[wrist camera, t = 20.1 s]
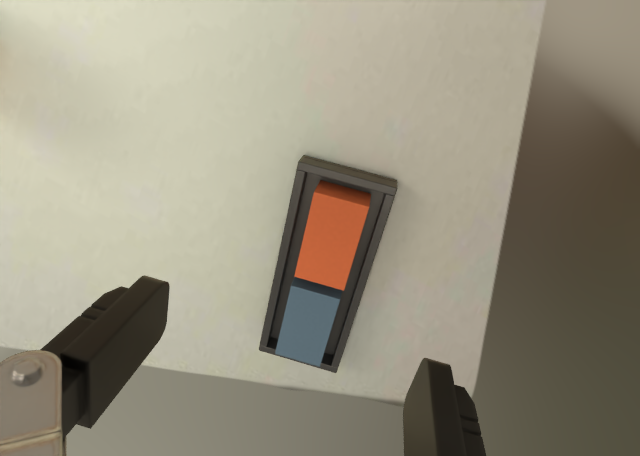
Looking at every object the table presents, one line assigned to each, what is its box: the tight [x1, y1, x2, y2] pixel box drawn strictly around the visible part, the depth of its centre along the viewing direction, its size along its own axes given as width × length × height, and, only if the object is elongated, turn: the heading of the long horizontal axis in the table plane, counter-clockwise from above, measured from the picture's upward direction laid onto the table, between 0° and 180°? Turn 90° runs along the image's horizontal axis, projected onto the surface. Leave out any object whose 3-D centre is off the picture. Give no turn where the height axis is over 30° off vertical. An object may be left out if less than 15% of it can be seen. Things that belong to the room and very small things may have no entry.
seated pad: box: [275, 277, 342, 367], centre depth 44 cm, size 9×5×4 cm, turn 167°
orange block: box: [294, 180, 371, 291], centre depth 40 cm, size 9×5×4 cm, turn 167°
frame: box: [259, 155, 397, 373], centre depth 43 cm, size 23×9×2 cm, turn 167°
